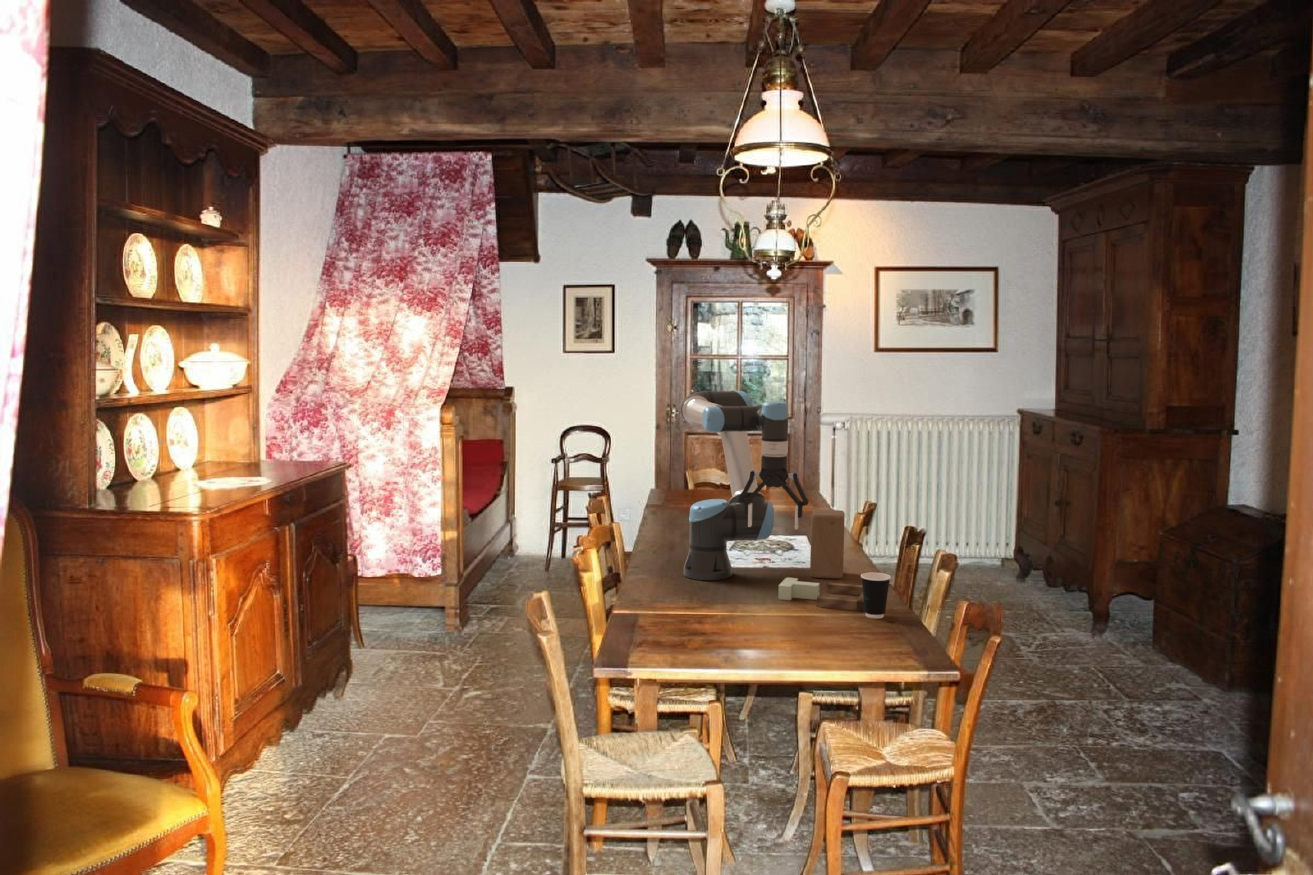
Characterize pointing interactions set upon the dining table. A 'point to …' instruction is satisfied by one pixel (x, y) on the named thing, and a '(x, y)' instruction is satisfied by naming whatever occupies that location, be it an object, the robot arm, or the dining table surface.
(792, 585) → the t block
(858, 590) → the brown stepped flat base
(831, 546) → the wooden block
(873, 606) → the dixie cup
